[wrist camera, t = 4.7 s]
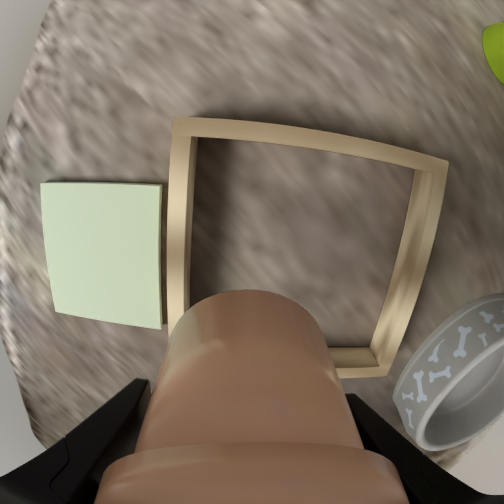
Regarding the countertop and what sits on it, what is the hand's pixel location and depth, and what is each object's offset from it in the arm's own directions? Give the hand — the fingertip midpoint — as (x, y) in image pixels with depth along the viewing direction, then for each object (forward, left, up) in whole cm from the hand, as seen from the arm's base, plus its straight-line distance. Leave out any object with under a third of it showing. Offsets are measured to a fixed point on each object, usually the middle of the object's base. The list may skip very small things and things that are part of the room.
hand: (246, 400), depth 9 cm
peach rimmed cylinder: (0, 0, -2) cm, 2 cm away
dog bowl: (-11, -24, -12) cm, 29 cm away
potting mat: (-1, +10, -12) cm, 15 cm away
